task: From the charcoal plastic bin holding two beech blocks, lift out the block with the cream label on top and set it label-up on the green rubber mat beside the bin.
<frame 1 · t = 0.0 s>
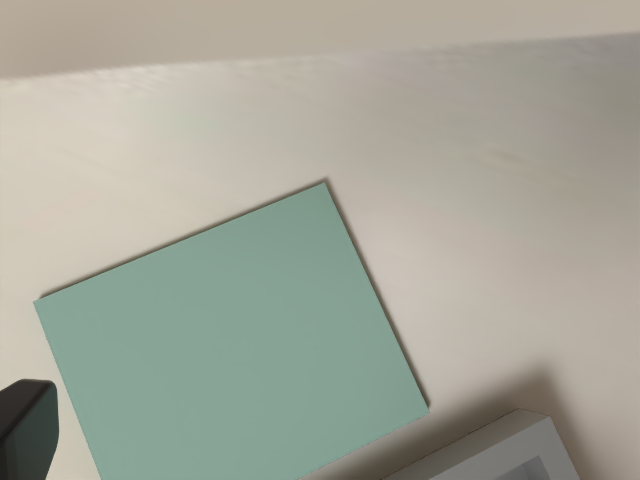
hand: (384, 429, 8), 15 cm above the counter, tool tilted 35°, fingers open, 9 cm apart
green mat: (235, 358, 23), on the counter
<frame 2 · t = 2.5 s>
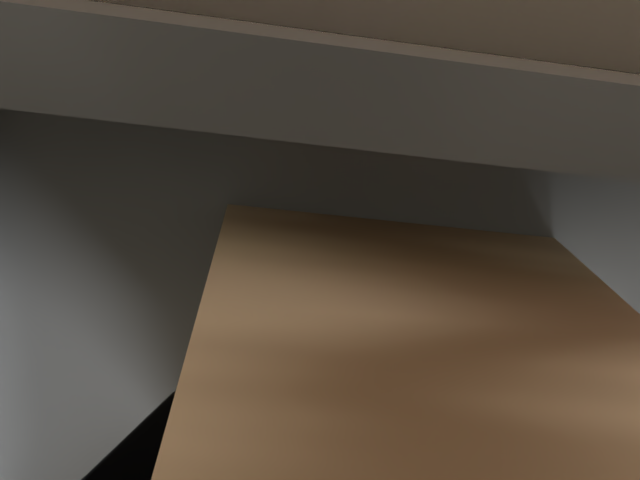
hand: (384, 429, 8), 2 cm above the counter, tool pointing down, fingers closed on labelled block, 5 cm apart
labelled block: (369, 361, 10), resting on charcoal bin, touching gripper
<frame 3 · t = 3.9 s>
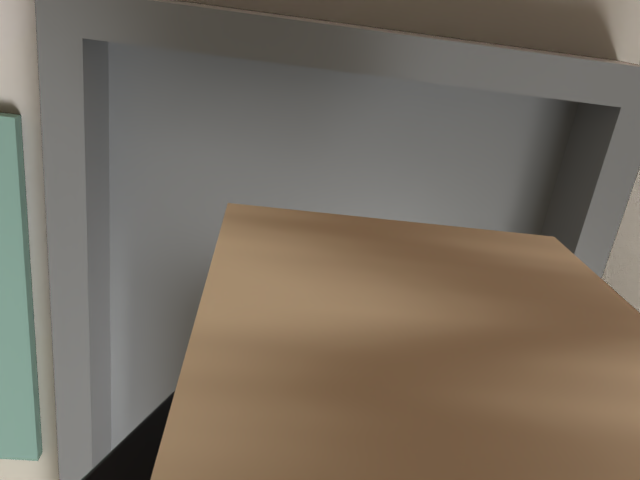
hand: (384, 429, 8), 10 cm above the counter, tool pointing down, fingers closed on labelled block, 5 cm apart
labelled block: (368, 360, 10), point 9 cm above the counter, touching gripper
charcoal bin: (314, 327, 19), on the counter
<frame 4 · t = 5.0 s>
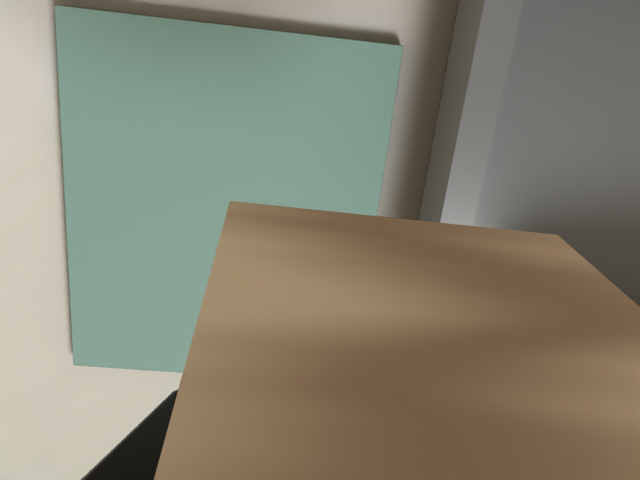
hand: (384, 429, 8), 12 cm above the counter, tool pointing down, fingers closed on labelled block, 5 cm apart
green mat: (224, 216, 19), on the counter
labelled block: (371, 359, 10), point 10 cm above the counter, touching gripper
charcoal bin: (624, 252, 21), on the counter
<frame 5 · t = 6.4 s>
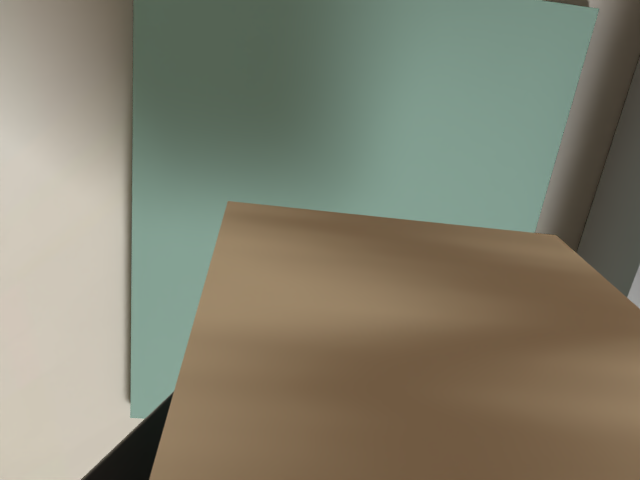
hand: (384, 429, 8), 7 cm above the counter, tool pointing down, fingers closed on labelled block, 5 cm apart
green mat: (335, 231, 15), on the counter
labelled block: (369, 359, 10), point 6 cm above the counter, touching gripper
when the fingers open (3 cm above the counter, at t = 7.7 s): labelled block drops 1 cm, resting on green mat.
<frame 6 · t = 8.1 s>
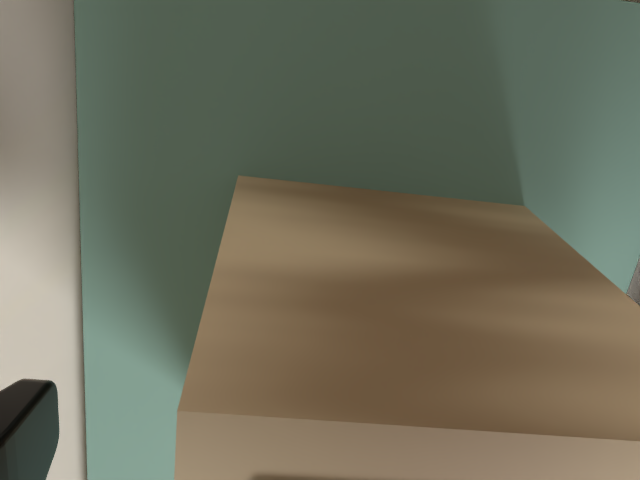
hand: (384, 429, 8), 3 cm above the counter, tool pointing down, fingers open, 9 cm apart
green mat: (355, 309, 11), on the counter
labelled block: (362, 317, 11), resting on green mat
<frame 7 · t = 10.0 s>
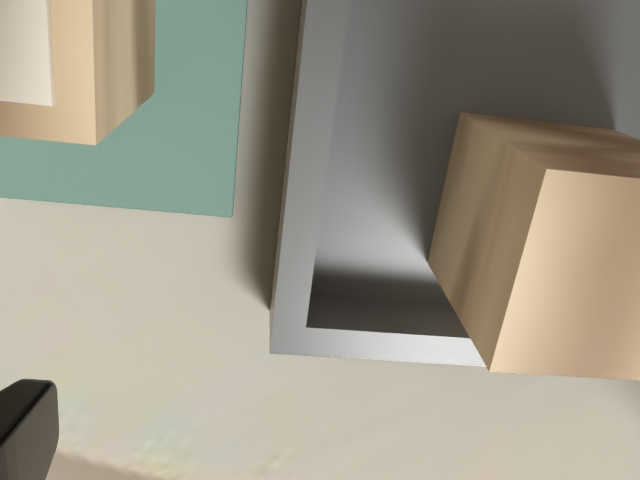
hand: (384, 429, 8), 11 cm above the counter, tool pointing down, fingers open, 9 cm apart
plain block: (518, 198, 19), resting on charcoal bin
charcoal bin: (551, 51, 17), on the counter
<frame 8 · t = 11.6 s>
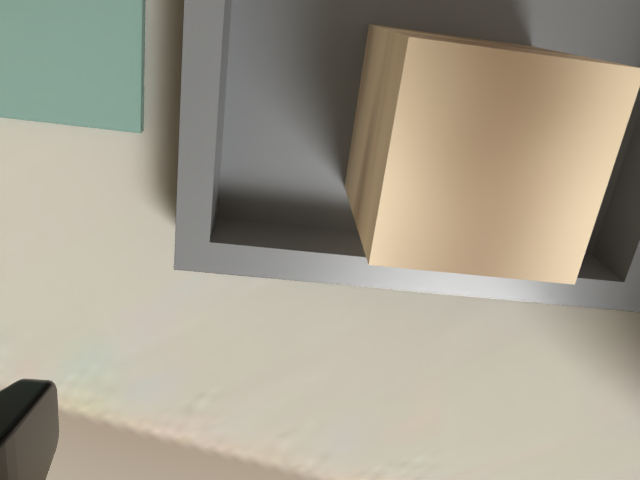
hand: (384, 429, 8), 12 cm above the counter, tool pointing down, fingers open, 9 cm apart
plain block: (434, 119, 18), resting on charcoal bin
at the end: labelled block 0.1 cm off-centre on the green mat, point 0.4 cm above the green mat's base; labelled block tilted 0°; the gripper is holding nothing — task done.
